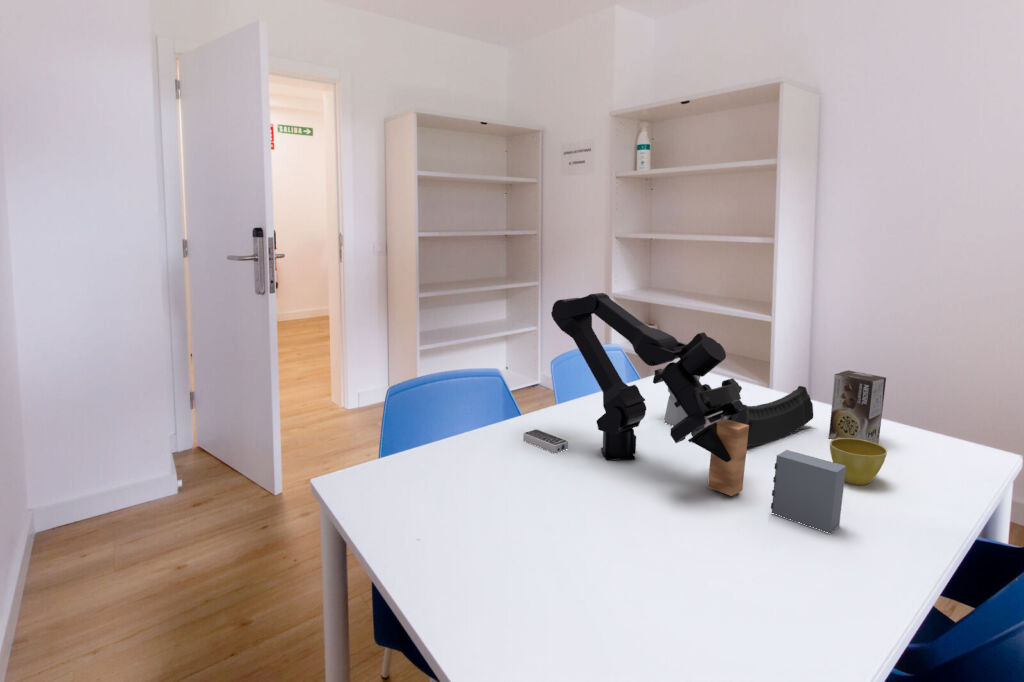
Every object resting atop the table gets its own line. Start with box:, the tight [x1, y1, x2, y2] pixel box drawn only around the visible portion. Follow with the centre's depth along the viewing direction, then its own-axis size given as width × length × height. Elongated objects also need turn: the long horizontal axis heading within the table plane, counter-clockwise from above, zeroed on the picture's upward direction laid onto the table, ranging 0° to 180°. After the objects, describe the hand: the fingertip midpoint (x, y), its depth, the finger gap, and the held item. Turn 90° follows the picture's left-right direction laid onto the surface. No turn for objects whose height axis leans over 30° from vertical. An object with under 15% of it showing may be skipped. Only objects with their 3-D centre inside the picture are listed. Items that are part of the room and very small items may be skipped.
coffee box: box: [828, 370, 887, 445], centre depth 147 cm, size 9×6×16 cm
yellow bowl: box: [829, 438, 888, 486], centre depth 126 cm, size 10×10×7 cm
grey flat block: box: [770, 449, 846, 534], centre depth 108 cm, size 10×4×11 cm, turn 43°
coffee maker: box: [663, 375, 701, 427], centre depth 159 cm, size 15×9×18 cm, turn 172°
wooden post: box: [707, 419, 749, 497], centre depth 119 cm, size 5×4×13 cm
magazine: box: [735, 385, 814, 448], centre depth 149 cm, size 17×3×30 cm
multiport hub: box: [522, 429, 569, 454], centre depth 145 cm, size 4×11×2 cm, turn 40°
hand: (734, 458), depth 118 cm, fingers closed on wooden post, 4 cm apart
